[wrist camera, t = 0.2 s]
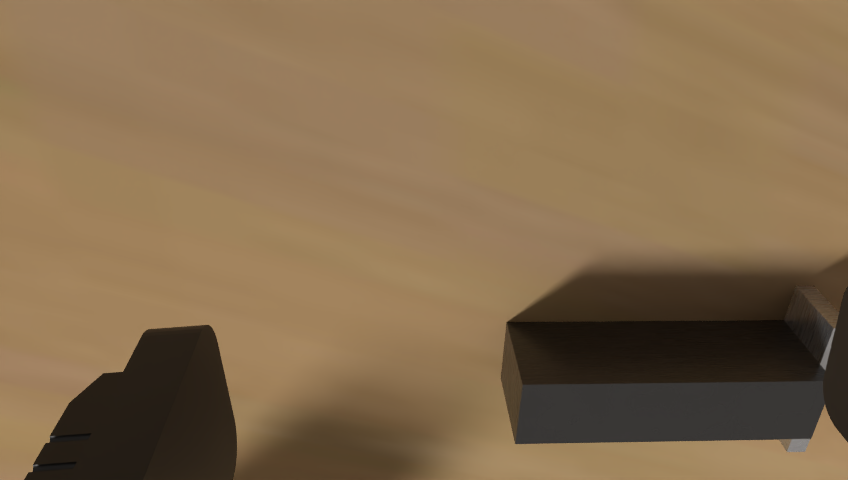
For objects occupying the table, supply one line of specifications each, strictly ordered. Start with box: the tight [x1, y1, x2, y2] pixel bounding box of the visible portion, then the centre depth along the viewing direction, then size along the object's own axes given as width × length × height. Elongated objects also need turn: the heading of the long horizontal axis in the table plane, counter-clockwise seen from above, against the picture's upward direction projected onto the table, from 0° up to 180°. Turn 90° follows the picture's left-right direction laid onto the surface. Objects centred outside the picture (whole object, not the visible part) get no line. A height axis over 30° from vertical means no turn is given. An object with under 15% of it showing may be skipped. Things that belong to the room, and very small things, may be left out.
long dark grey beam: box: [501, 286, 839, 452], centre depth 30 cm, size 6×13×4 cm, turn 88°
